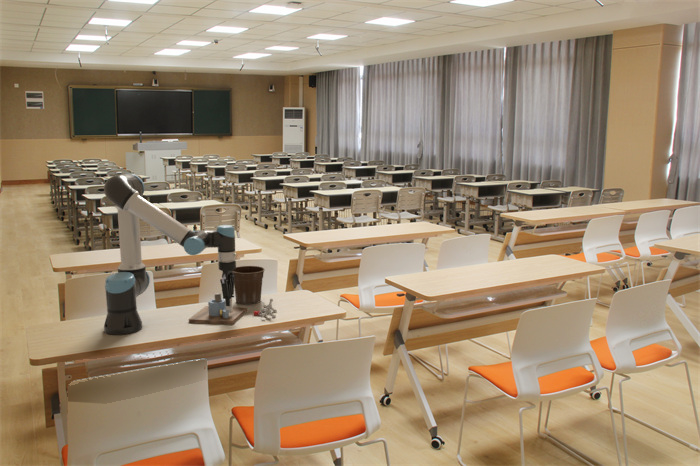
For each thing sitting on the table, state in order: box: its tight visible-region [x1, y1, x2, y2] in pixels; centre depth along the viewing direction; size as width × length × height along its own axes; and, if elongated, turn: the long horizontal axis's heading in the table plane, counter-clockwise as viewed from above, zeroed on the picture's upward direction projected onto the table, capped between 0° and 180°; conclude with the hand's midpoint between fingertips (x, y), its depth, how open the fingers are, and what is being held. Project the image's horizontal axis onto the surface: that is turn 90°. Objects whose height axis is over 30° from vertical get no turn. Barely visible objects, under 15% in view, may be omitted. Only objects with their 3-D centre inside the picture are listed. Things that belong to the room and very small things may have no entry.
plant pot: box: [233, 265, 266, 305], centre depth 291 cm, size 16×16×16 cm
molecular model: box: [253, 298, 277, 319], centre depth 270 cm, size 14×8×10 cm
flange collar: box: [207, 298, 229, 318], centre depth 264 cm, size 12×7×6 cm, turn 43°
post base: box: [188, 292, 248, 325], centre depth 267 cm, size 20×20×10 cm
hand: (229, 312), depth 263 cm, fingers closed
